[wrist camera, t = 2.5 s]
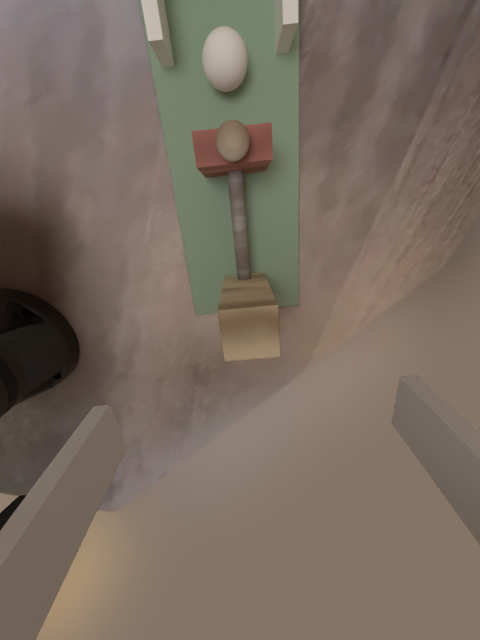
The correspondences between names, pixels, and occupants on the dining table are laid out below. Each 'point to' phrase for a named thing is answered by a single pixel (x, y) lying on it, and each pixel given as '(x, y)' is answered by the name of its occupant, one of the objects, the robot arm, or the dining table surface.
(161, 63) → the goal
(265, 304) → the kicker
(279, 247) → the pitch
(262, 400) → the dining table surface
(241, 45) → the ball
